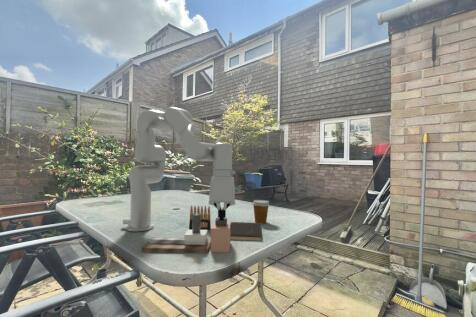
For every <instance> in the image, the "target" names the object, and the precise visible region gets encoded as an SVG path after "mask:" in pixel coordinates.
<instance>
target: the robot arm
mask: <svg viewBox="0 0 476 317" xmlns="http://www.w3.org/2000/svg"><path fill="white" fill-rule="evenodd" d="M193 121H194V118H193V115H192V113H191V112H189V111H188V110H185V109H183V108H179V107H174V106H170V107H167V108H166V109H165V110H164V111H160V110H155V109H145V110H142V111H141V112H140V113H139V114H138V117H137V119H136V129H137V133H136V134H137V136H136V137H137V138H136V143H135V144H136V145H135V150H134V151H135V152H134V158H135V161H136V162H138V163H141V165H135V166H132V168H130V170H129V172H128V179H129V185H130V214H129V216H130V218H129V219H122V225H127V226H126V231H128V232H136V233H137V232H138V233H139V232H146V231H150V230H153V229H154V226H155V224H154V223H151V218H152V216H151V215H152V214H151V213H152V191H151V189H150V187H149V184H157V183H160V182H161V181H162V180H163V178H164V175H165V174H164V173H165V169H166V168H165V167H166V161H167V153H166V150H165V148H164V146H162V145H159V144H155V142H156V134H155V131H154V129H157V130H164V131H173V132H174V133H175V134H176V135H177V137H179V144H180V146H181V149H182V151H184V152H185V154H186V155H188V157H189V158H190V159H192V160H194V161H197V162H198V161H199V162H212V176H211V178H210V184H209V192H208V199H209V200H208V206H213V207H215V208H216V210H217V218H220V220H221V219H222V220H224V218H227V216H226V211H227V209H228V208H229V207H231V206H234V205H236V200H235V198H236V190H235V189H236V188H235V178H234V175H236V171H235V170H233V168H232V167H233V163H232V162H233V145H232V144H231V143H229V142H217V143H211V142H202V141H199V140H198V138H196V137H195V136H194V135H195V133H196V129H197V127H196V125H195V123H194V122H193ZM143 164H144V165H143ZM145 164H146V165H145ZM148 164H150V165H148ZM221 203H223V206H222V207H221Z"/></svg>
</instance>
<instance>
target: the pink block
mask: <svg viewBox="0 0 476 317" xmlns="http://www.w3.org/2000/svg"><path fill="white" fill-rule="evenodd" d="M231 222H232V221H227V225H224V226H219V225H215V221H213V223H212V224H211V225H212V226H211V230H210V239H211V245H210V253H230V249H231V248H230V246H231V239H230V225H231Z"/></svg>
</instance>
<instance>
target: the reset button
mask: <svg viewBox="0 0 476 317" xmlns="http://www.w3.org/2000/svg"><path fill="white" fill-rule="evenodd" d="M214 222H215V225H219V226H224V225H227V222H228V218H227V217H226V218H224V220H222V219H221V220H220V218H218V217H216V219H215V220H214Z"/></svg>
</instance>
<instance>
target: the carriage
mask: <svg viewBox="0 0 476 317" xmlns="http://www.w3.org/2000/svg"><path fill="white" fill-rule="evenodd" d="M200 225H201V214H197V213H196V214H193V221H192V230H189V229H187V230H186V232H185V233H184V235H183V236H184V237H183V238H184V242H185V245H205V244H206V239H207V238H208V230H200Z"/></svg>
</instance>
